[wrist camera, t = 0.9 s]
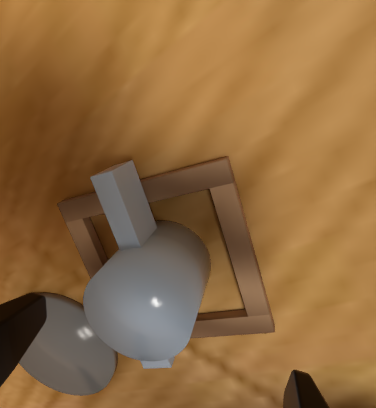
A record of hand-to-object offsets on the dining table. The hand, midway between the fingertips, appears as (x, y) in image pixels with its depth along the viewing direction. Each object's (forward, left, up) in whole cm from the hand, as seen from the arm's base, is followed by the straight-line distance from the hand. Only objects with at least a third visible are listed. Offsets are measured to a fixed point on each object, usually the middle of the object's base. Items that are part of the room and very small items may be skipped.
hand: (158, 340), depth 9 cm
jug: (-2, +5, -12) cm, 13 cm away
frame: (-4, +5, -12) cm, 13 cm away
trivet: (-10, +18, -12) cm, 24 cm away
